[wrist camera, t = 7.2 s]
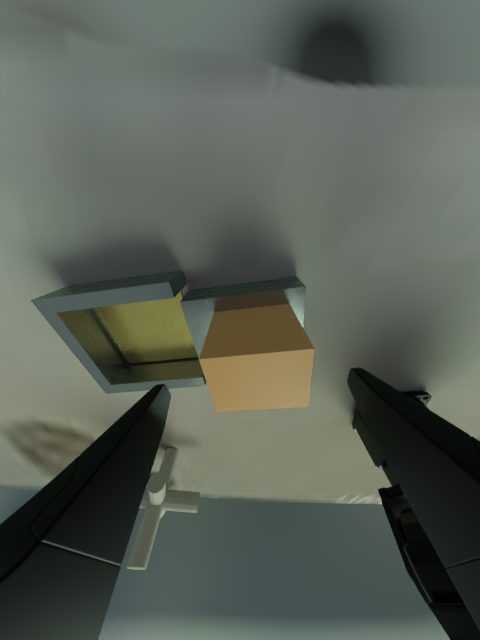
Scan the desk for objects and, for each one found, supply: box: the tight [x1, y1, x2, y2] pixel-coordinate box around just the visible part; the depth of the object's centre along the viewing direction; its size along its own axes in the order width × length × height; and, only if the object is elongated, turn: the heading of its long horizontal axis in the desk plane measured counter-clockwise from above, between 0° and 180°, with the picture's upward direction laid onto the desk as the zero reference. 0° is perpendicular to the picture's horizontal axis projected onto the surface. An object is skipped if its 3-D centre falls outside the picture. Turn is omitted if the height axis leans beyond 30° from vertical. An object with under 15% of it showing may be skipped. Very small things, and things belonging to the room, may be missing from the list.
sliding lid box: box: [31, 271, 306, 393], centre depth 13 cm, size 17×9×2 cm, turn 98°
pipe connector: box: [127, 448, 200, 570], centre depth 21 cm, size 10×10×10 cm
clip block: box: [199, 304, 314, 413], centre depth 10 cm, size 5×4×4 cm
